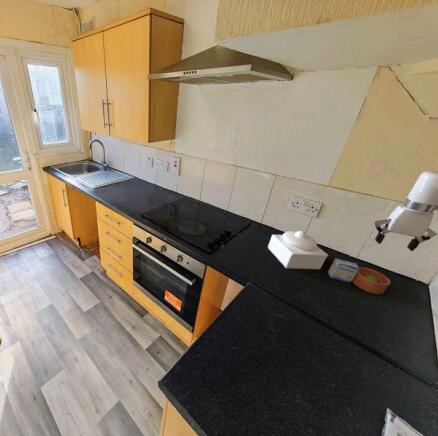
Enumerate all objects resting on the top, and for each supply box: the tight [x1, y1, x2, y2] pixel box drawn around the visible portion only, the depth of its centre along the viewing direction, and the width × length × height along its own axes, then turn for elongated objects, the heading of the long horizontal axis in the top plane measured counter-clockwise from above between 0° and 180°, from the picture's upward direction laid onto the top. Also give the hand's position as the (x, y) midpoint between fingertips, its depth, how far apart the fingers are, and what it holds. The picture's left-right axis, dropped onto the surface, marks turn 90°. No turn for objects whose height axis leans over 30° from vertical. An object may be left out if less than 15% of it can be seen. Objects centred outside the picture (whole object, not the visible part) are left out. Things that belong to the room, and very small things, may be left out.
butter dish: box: [267, 230, 329, 270], centre depth 114 cm, size 18×18×16 cm
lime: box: [364, 275, 378, 283], centre depth 100 cm, size 5×5×5 cm
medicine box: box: [327, 257, 360, 283], centre depth 103 cm, size 8×4×9 cm, turn 68°
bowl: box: [351, 266, 391, 295], centre depth 100 cm, size 11×11×6 cm
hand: (393, 245), depth 89 cm, fingers open, 9 cm apart
